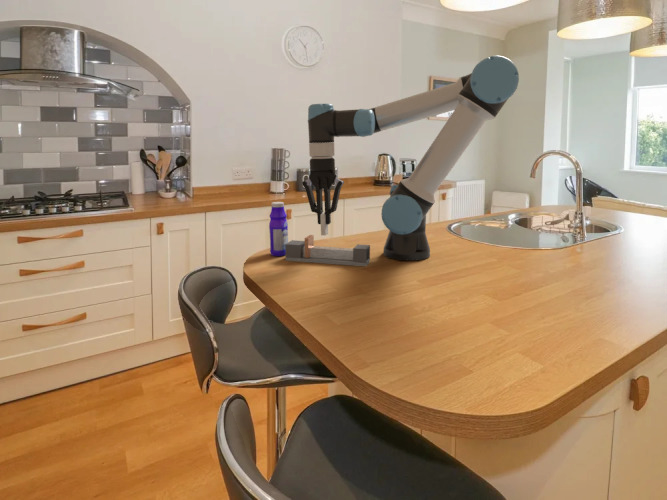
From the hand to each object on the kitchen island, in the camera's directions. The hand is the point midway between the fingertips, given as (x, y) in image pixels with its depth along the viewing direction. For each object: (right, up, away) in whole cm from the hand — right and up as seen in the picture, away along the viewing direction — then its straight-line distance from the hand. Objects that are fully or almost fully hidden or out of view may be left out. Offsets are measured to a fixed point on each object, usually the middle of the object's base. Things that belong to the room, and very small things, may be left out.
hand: (324, 234), depth 147 cm
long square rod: (+2, -7, +1) cm, 8 cm away
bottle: (-15, -6, +10) cm, 20 cm away
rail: (+1, -8, +2) cm, 9 cm away
